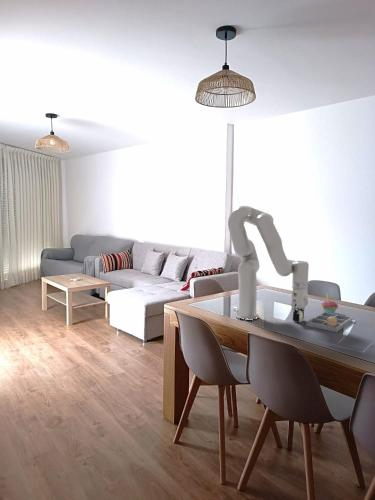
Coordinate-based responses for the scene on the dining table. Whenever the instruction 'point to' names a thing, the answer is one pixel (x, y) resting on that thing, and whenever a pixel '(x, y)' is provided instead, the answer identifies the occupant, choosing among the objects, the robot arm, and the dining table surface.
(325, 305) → the cupcake
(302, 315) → the cream egg
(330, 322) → the brown egg
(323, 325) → the egg tray
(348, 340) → the dining table surface
